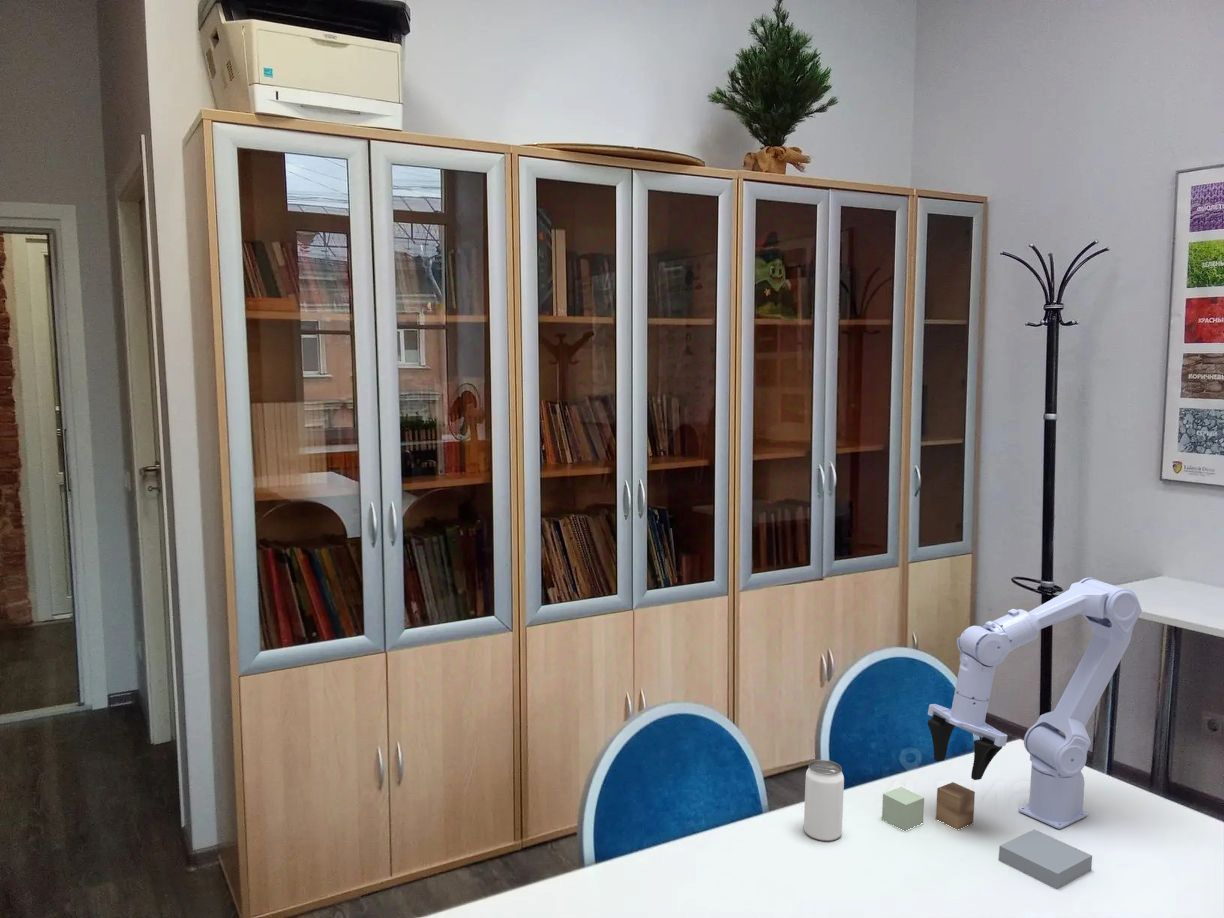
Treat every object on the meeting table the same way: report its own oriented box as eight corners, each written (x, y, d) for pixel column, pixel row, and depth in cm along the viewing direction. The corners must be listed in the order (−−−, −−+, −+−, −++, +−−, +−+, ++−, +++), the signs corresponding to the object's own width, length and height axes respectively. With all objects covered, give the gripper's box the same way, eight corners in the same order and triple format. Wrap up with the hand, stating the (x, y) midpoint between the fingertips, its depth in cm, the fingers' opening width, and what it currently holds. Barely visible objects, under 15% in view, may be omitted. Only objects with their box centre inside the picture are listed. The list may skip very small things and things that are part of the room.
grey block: (1033, 845, 156) (1034, 829, 155) (1091, 873, 147) (1092, 855, 147) (998, 862, 150) (999, 845, 150) (1056, 892, 142) (1057, 873, 141)
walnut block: (951, 813, 166) (952, 782, 165) (973, 823, 162) (974, 791, 161) (935, 820, 163) (937, 788, 163) (957, 830, 160) (959, 798, 159)
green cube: (900, 813, 166) (901, 786, 165) (923, 824, 162) (924, 797, 161) (881, 820, 163) (883, 793, 163) (904, 832, 159) (906, 804, 158)
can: (842, 844, 154) (845, 776, 153) (803, 839, 156) (806, 772, 154) (840, 825, 161) (843, 760, 159) (803, 821, 162) (805, 757, 161)
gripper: (923, 681, 164) (909, 754, 164) (995, 712, 152) (980, 790, 153) (947, 680, 168) (933, 750, 168) (1019, 709, 156) (1004, 785, 157)
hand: (957, 769), depth 161 cm, fingers open, 7 cm apart
